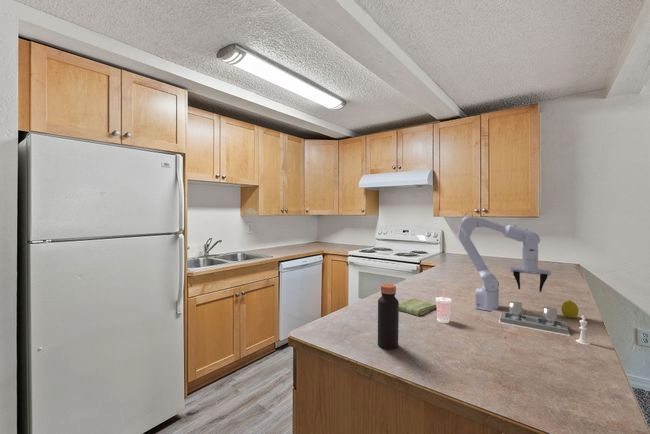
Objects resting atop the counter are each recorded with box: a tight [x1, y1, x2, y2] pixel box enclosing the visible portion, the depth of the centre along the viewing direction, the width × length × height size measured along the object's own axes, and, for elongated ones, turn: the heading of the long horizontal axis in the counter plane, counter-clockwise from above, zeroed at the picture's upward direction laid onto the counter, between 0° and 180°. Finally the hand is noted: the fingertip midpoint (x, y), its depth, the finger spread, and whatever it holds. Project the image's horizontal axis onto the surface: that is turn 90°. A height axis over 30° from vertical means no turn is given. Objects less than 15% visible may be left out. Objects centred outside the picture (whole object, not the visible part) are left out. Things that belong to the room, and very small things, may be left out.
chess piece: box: [575, 314, 591, 346], centre depth 101 cm, size 5×5×10 cm
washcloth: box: [399, 297, 437, 317], centre depth 137 cm, size 13×18×3 cm
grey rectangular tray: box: [497, 310, 571, 337], centre depth 117 cm, size 22×13×2 cm, turn 56°
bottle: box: [377, 283, 400, 350], centre depth 100 cm, size 7×7×20 cm
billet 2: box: [542, 306, 558, 327], centre depth 114 cm, size 4×4×7 cm
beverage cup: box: [435, 286, 452, 324], centre depth 122 cm, size 6×6×14 cm
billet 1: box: [508, 300, 523, 321], centre depth 120 cm, size 4×4×7 cm
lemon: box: [560, 299, 579, 319], centre depth 124 cm, size 6×6×8 cm
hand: (529, 289), depth 131 cm, fingers open, 7 cm apart
